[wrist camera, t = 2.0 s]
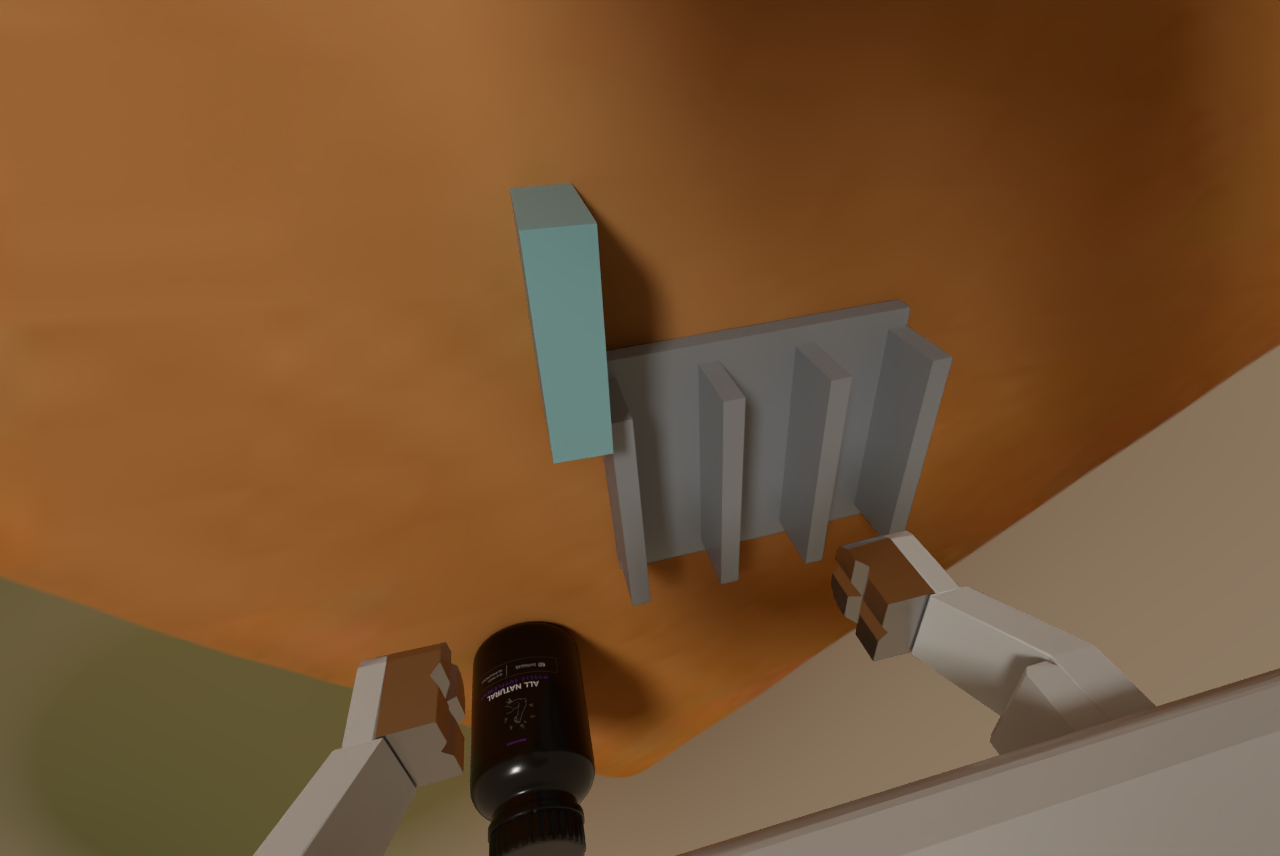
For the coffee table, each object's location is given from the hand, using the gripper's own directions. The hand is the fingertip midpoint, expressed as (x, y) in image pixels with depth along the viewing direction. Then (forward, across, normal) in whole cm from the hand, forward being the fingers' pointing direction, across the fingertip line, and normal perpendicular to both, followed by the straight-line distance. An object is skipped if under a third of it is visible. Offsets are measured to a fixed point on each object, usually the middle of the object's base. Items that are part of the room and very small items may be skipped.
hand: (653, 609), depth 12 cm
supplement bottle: (+17, +6, +24) cm, 30 cm away
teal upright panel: (+17, 0, -1) cm, 17 cm away
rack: (+17, -9, +10) cm, 21 cm away
